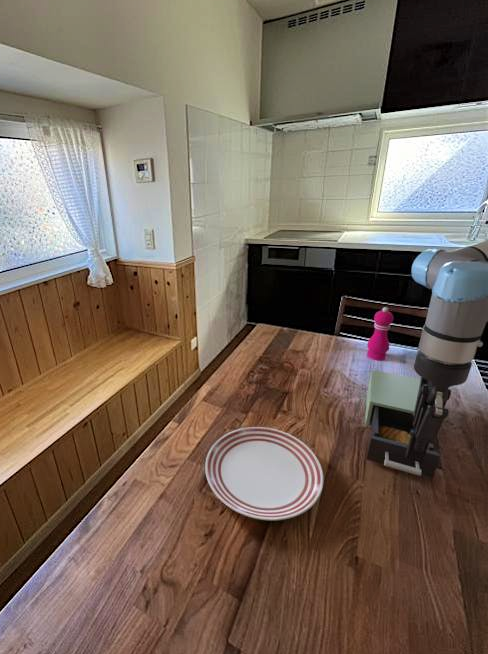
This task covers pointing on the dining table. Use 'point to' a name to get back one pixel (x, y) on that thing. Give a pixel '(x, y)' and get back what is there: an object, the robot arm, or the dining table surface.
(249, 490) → the dinner plate
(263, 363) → the glasses
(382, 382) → the mint green cabinet
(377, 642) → the dining table surface
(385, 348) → the pepper mill
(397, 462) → the drawer
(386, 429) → the pastry
